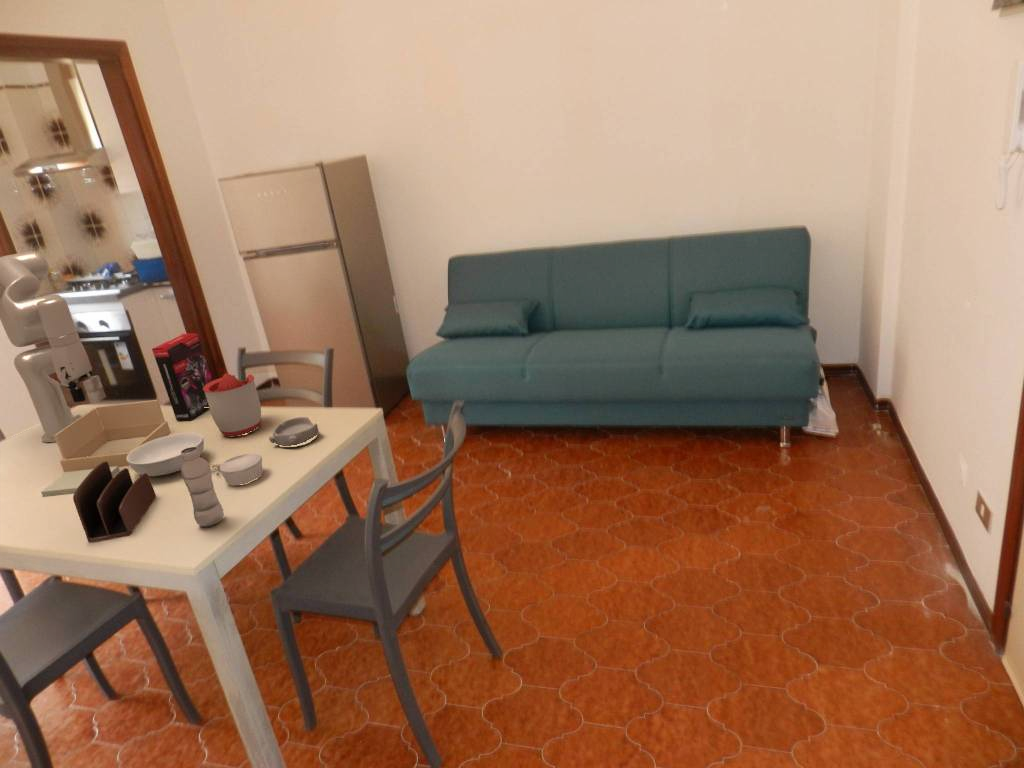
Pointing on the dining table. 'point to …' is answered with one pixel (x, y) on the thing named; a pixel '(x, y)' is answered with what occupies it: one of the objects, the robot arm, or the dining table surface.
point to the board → (70, 482)
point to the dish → (294, 431)
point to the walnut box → (86, 391)
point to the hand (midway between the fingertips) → (85, 397)
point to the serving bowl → (163, 454)
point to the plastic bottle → (201, 488)
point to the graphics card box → (184, 375)
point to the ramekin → (242, 468)
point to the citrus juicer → (234, 404)
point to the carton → (109, 433)
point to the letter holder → (112, 502)
